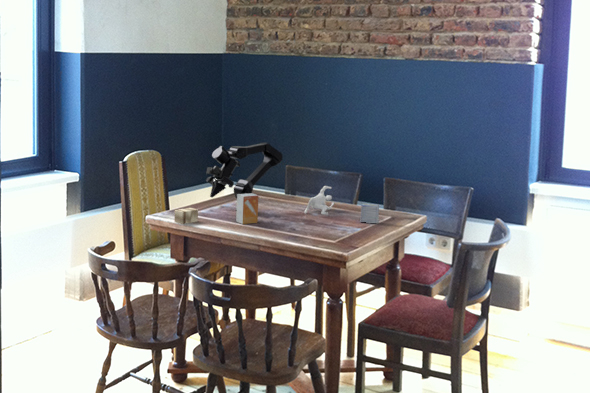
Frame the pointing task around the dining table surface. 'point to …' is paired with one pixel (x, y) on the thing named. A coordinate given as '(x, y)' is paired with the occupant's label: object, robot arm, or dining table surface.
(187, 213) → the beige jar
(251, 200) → the small box
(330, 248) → the dining table surface
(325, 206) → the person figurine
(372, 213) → the medicine box
